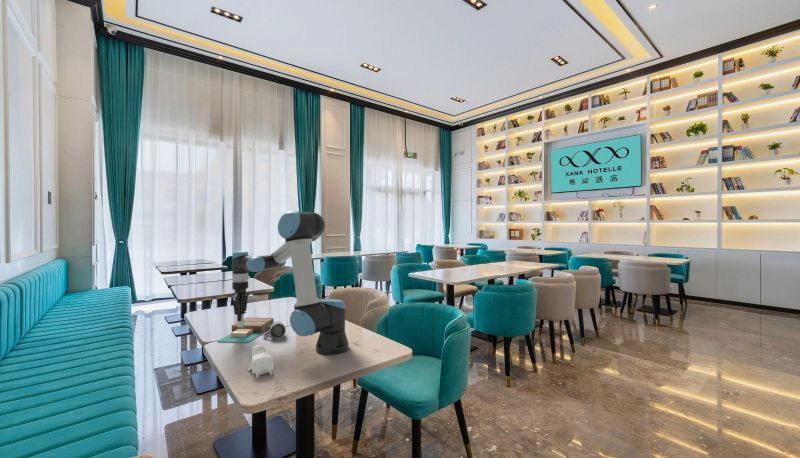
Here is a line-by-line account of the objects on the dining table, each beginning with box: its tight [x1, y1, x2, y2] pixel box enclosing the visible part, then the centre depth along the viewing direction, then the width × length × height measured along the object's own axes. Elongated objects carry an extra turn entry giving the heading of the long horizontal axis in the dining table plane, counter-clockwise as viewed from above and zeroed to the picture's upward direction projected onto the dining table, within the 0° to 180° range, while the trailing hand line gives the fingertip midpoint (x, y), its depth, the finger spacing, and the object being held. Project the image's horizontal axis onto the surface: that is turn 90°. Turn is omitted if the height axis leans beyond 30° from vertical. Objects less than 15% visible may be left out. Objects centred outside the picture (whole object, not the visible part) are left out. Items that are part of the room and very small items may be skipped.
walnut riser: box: [231, 317, 275, 334], centre depth 194 cm, size 16×16×4 cm
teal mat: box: [216, 332, 263, 344], centre depth 179 cm, size 15×16×1 cm
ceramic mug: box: [262, 321, 287, 340], centre depth 180 cm, size 11×8×8 cm
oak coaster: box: [230, 329, 253, 337], centre depth 182 cm, size 8×8×2 cm
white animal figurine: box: [247, 344, 275, 379], centre depth 139 cm, size 9×8×15 cm
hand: (240, 326), depth 181 cm, fingers closed
